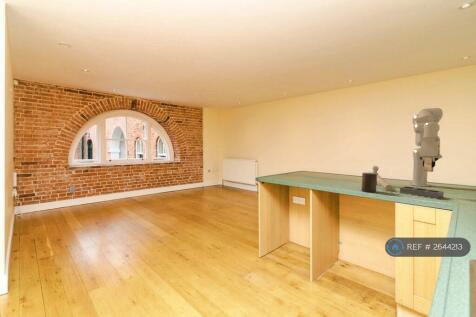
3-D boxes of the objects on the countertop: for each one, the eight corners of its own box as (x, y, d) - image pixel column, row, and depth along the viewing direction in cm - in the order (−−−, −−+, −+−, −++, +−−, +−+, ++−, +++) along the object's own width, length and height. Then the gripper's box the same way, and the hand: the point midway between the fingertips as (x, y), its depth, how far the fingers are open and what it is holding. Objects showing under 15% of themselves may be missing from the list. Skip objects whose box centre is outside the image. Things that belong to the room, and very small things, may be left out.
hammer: (393, 178, 171) (377, 165, 199) (386, 178, 171) (371, 165, 200) (390, 198, 175) (375, 182, 203) (383, 197, 176) (369, 182, 204)
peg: (426, 170, 162) (426, 156, 162) (433, 171, 159) (433, 157, 158) (423, 171, 160) (424, 156, 159) (430, 171, 157) (431, 157, 156)
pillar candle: (367, 193, 167) (369, 172, 166) (358, 190, 177) (359, 170, 176) (379, 192, 169) (380, 172, 168) (369, 189, 179) (370, 170, 178)
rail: (405, 191, 172) (405, 186, 172) (443, 197, 153) (443, 191, 153) (399, 192, 167) (399, 187, 167) (438, 199, 148) (438, 193, 148)
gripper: (447, 140, 153) (446, 167, 154) (417, 140, 167) (416, 165, 168) (444, 140, 149) (442, 168, 150) (413, 140, 163) (412, 166, 164)
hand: (428, 166), depth 159 cm, fingers closed on peg, 4 cm apart
